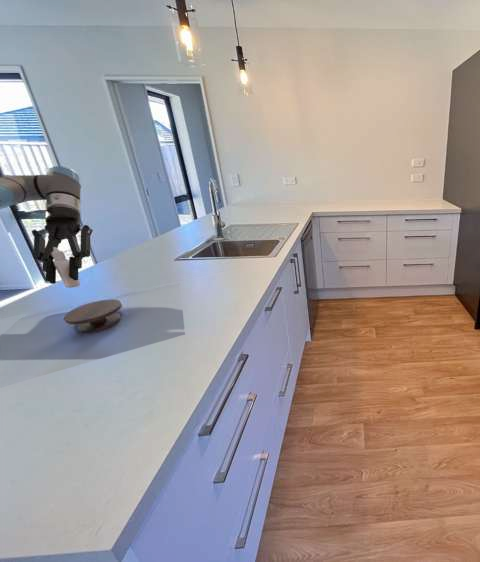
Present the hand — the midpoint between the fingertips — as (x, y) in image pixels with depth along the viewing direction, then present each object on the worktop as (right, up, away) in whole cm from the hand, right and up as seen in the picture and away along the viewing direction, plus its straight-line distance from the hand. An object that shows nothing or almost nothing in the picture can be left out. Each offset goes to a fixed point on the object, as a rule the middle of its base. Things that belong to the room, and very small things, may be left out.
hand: (62, 279), depth 86 cm
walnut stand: (+7, -13, +5) cm, 16 cm away
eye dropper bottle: (-1, -2, +5) cm, 5 cm away
